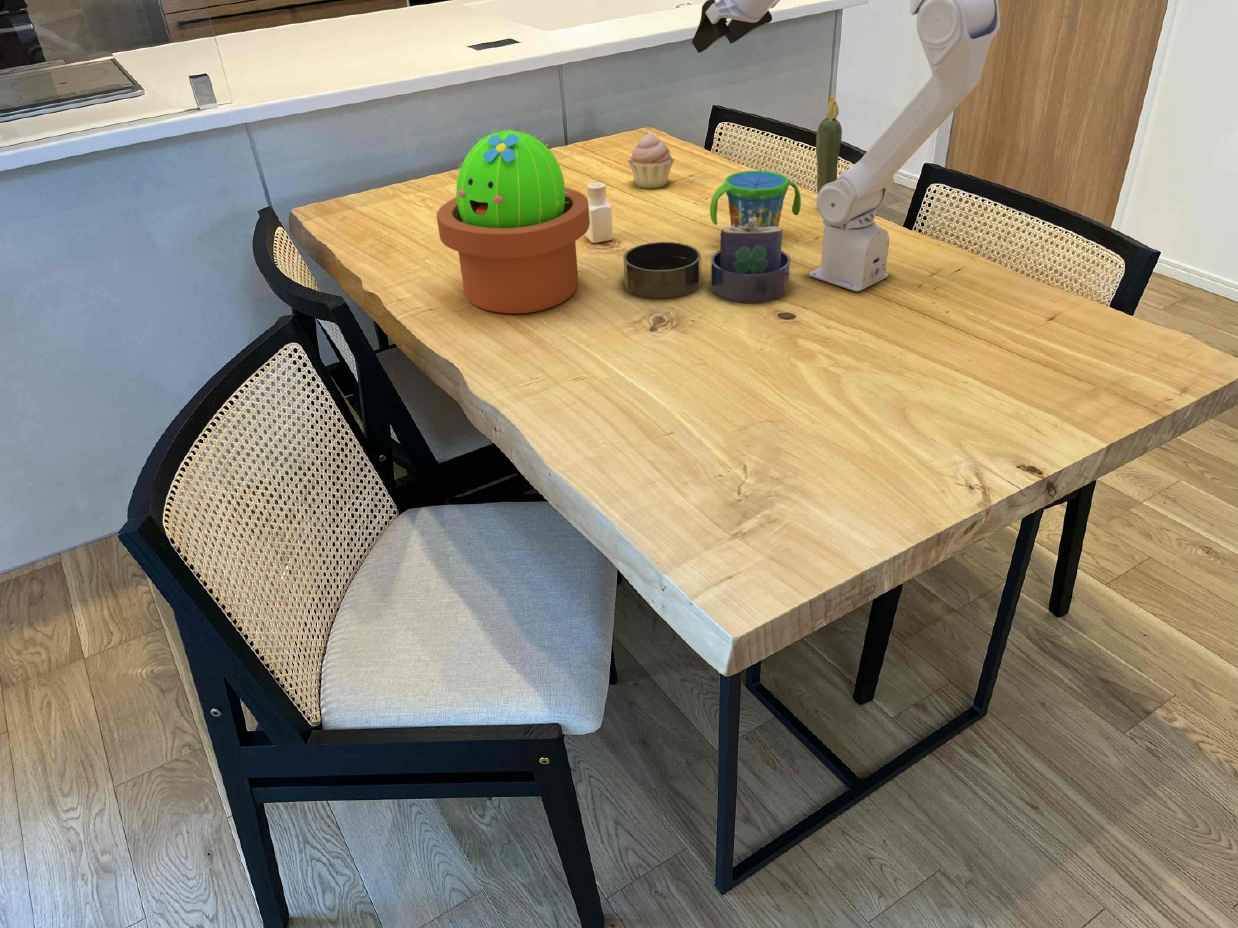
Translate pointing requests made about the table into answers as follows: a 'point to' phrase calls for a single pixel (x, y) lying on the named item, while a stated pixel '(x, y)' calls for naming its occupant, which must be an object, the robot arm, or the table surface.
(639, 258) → the charcoal bowl
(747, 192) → the snack cup
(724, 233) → the flask
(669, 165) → the cupcake
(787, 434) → the table surface
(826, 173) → the vegetable
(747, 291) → the indigo bowl
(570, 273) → the potted cactus
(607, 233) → the pepper shaker
